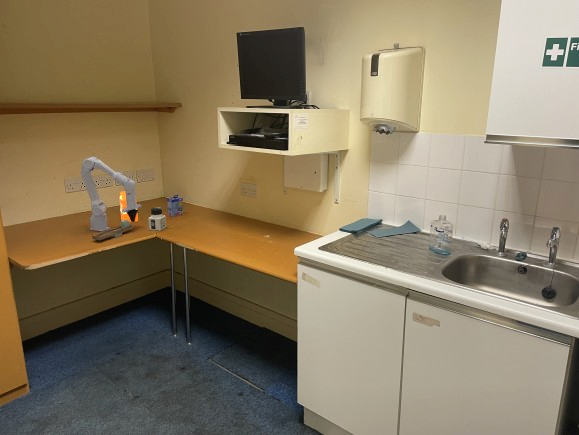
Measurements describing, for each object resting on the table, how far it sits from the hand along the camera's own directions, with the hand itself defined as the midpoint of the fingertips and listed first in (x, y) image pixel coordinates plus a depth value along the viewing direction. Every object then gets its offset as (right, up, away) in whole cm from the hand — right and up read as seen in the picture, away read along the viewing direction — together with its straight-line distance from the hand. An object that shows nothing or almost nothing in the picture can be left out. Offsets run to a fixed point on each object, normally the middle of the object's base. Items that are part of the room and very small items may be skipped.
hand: (132, 221), depth 274 cm
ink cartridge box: (+18, +4, +35) cm, 39 cm away
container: (+15, -5, +2) cm, 16 cm away
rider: (-3, -3, -5) cm, 7 cm away
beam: (-7, -8, -13) cm, 17 cm away
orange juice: (-9, 0, +20) cm, 22 cm away
